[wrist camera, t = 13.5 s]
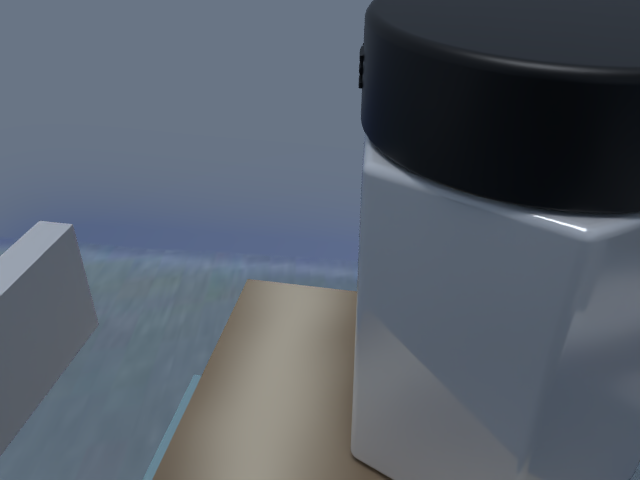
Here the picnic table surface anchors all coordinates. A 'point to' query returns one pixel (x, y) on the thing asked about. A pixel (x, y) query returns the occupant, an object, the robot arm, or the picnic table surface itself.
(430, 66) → the jar
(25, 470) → the picnic table surface
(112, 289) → the picnic table surface
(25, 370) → the robot arm
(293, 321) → the base block
